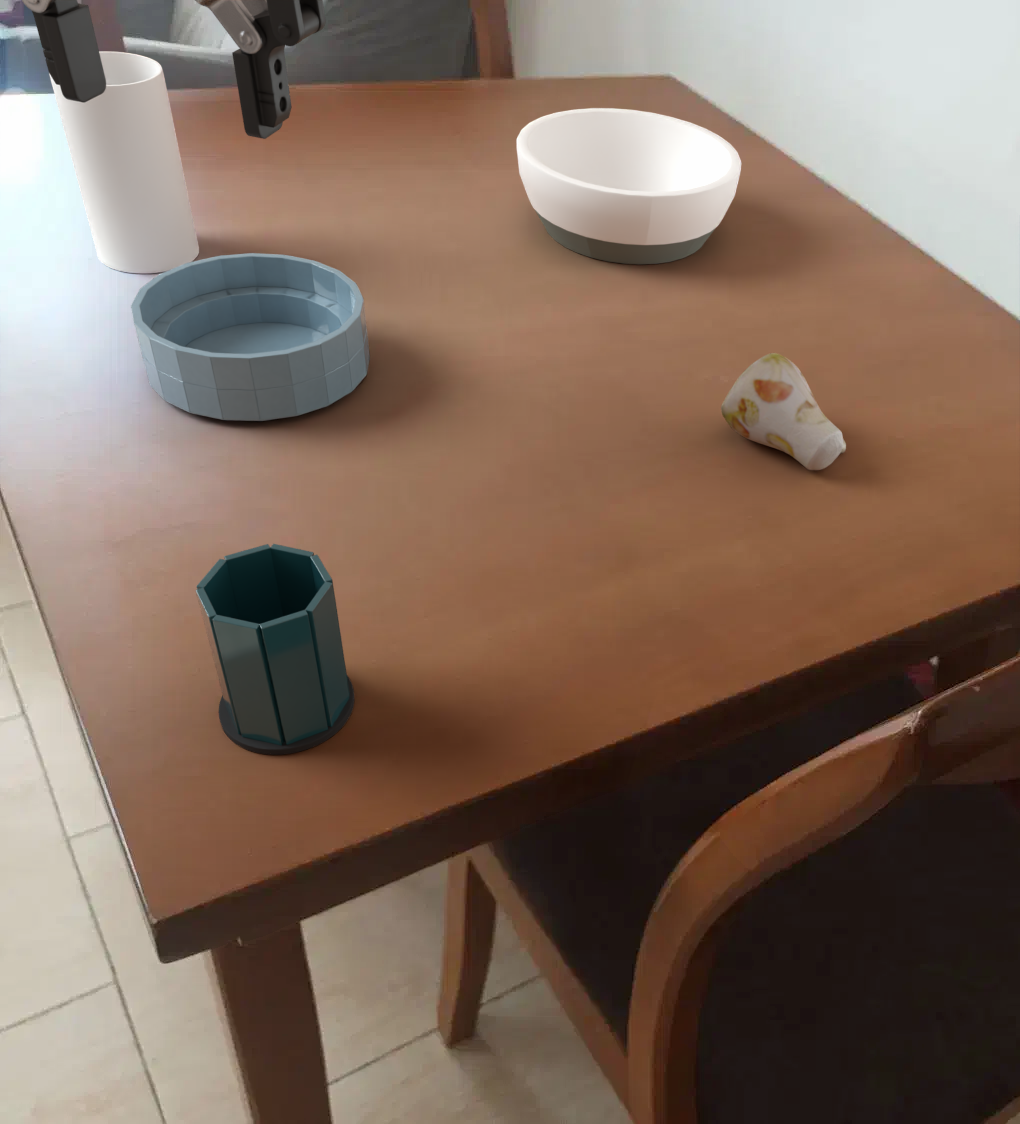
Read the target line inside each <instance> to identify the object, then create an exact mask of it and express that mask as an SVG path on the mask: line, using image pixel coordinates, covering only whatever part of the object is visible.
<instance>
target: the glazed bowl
mask: <svg viewBox="0 0 1020 1124" xmlns="http://www.w3.org/2000/svg"><path fill="white" fill-rule="evenodd" d="M364 299H365V298H364V296H363V294H362V293H361V291H360V288H359V286H358V284H357V283H356V281H354V280H352V279H351V278H350V277H349V276H348V275H346V274H345V273H344V272H342V271H341V270H339V269H337V268H334V267H332V266H329V265H326V264H324V263H322V262H319V261H317V260H314V259H308V258H304V257H298V256H293V255H289V254H280V253H279V254H277V253H274V254H273V253H261V252H260V253H257V252H248V253H247V252H246V253H235V254H224V255H215V256H212V257H211V256H210V257H208V258H207V257H206V258H203V259H198V260H193V261H192V262H189V263H185V264H183V265H180V266H178V267H176V268H173V269H171V270H168V271H165V272H160V273H159V274H157V275H156V276H155V277H154V278H152V279H150V280H149V281H148V282H147V283H146V284H144V285H143V286H142V287H140V289H138V292H137V293H136V295H135V298H134V299H133V301H132V303H131V305H130V308H131V314H132V320H133V326H134V329H135V333H136V337H137V339H138V345H139V348H140V352H141V356H142V357H141V358H142V361H143V364H144V369H145V372H146V376H147V380H148V384H149V386H150V388H152V389H153V390H154V392H156V393H157V395H159V397H160V398H161V399H162V400H163V401H164V402H166V403H168V404H171V405H173V406H175V408H179V409H181V410H182V411H185V412H187V413H189V414H193V415H198V416H203V417H208V418H213V419H216V420H217V419H218V420H222V421H243V422H244V421H248V422H263V421H271V420H277V419H285V418H292V417H298V416H301V415H304V414H308V413H311V412H313V411H317V410H319V409H323V408H326V407H329V406H330V405H332V404H333V403H335V402H337V401H339V400H340V399H342V398H344V397H346V396H347V395H349V394H351V393H352V392H353V391H354V390H356V388H357V387H358V386H359V384H360V383H362V381H363V380H364V378H365V377H367V375H368V370H369V364H370V359H371V357H370V356H371V355H370V346H369V338H368V337H369V336H368V329H367V327H368V326H367V319H366V309H365V300H364Z"/></svg>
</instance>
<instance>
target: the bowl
mask: <svg viewBox="0 0 1020 1124" xmlns="http://www.w3.org/2000/svg"><path fill="white" fill-rule="evenodd" d="M515 142H516V155H517V164H518V174H519V176H520V179H521V182H522V185H523V188H524V190H525V193H526V195H527V199H528V201H529V202H530V204H531V207H532V208H533V209H534V211H535V213H536V215H537V216H538V218H539V220H540V222H541V223H542V225H543V226H544V228H545V230H546V232H547V234H548V235H549V236H550V237H551V238H552V239H553V240H554V241H555V242H556V243H558V244H560V245H561V246H563V247H564V248H566V249H568V250H570V251H573V252H575V253H577V254H578V255H579V254H580V255H582V256H585V257H588V258H591V259H596V260H600V261H603V262H604V261H605V262H611V263H617V264H624V265H627V264H628V265H654V264H655V265H657V264H663V263H670V262H674V261H678V260H681V259H685V258H687V257H689V256H691V255H694V254H695V253H696V252H697V251H699V250H700V249H701V248H702V247H703V246H704V244H705V243H706V241H707V240H708V239H709V238H710V236H711V235H712V234H713V233H714V231H715V230H717V229H716V228H717V227H718V226H719V225H720V224H721V222H722V220H723V219H724V217H725V216H726V213H727V212H728V210H729V208H730V207H731V204H732V202H733V200H734V198H735V197H736V193H737V188H738V184H739V180H740V176H741V171H742V160H741V158H740V155H739V152H738V150H736V148H735V147H734V146H733V145H732V144H731V143H730V142H728V141H727V140H726V139H724V138H723V137H721V135H718V134H717V133H715V132H714V131H711V130H710V129H707V128H706V127H703V126H700V125H698V124H695V123H693V122H690V121H687V120H683V119H680V118H677V117H673V116H669V115H665V114H661V113H655V112H651V111H643V110H637V109H628V108H627V109H626V108H616V107H615V108H614V107H590V108H578V109H577V108H575V109H569V110H563V111H556V112H553V113H549V114H546V115H543V116H540V117H538V118H536V119H534V120H532V121H530V122H529V123H527V124H526V125H525V126H524V127H523V128H521V130H520V131H519V134H518V135H517V138H516V141H515Z"/></svg>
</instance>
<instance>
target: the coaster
mask: <svg viewBox="0 0 1020 1124" xmlns="http://www.w3.org/2000/svg"><path fill="white" fill-rule="evenodd" d="M347 680H348V686H349V693H350V694H349V700H348V701H347V703H346V705H345V706H344V708H343V709H342V711H341V713H340V714H339V716H338V718H337V719H336V721H335V722H334V724H333V726H332V727H329V726H328V730H326V731H323V732H321V733H318V734H315V735H313V736H310V737H307V738H305V739H302V740H299V741H297V742H294V743H291V744H289V745H286V743H285V741H284V743H283V744H282V745H276V744H272V743H267V742H263V741H258V740H254V739H249V738H245V737H242V735H241V734H238V732H237V730H236V728H235V726H234V724H233V722H232V719H231V717H230V715H229V713H228V711H227V709H226V706H225V702H224V698H223V694H222V696H221V697H220V700H219V704H218V717H219V723H220V725H221V726H220V727H221V728H222V731H223V732H224V734H225V735H226V736H227V738H228V739H229V740H230V741H231V742H233V743H234V744H235V745H237V746H238V747H240V748H242V749H244V750H246V751H249V752H252V753H256V754H260V755H261V754H262V755H272V756H278V755H279V756H282V755H290V754H296V753H300V752H303V751H304V752H305V751H306V750H309V749H313V748H314V747H317V746H319V745H321V744H322V743H325V742H326V741H328V740H329V739H331V738H332V737H333V736H335V735H336V734H337V733H339V731H340V730H341V729H342V728H343V727H344V726H345V725H346V724H347V722H348V720H349V719H350V717H351V715H352V713H353V710H354V706H355V690H354V686H353V682H352V680H351V679H350V677H349V675H348V674H347Z"/></svg>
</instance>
